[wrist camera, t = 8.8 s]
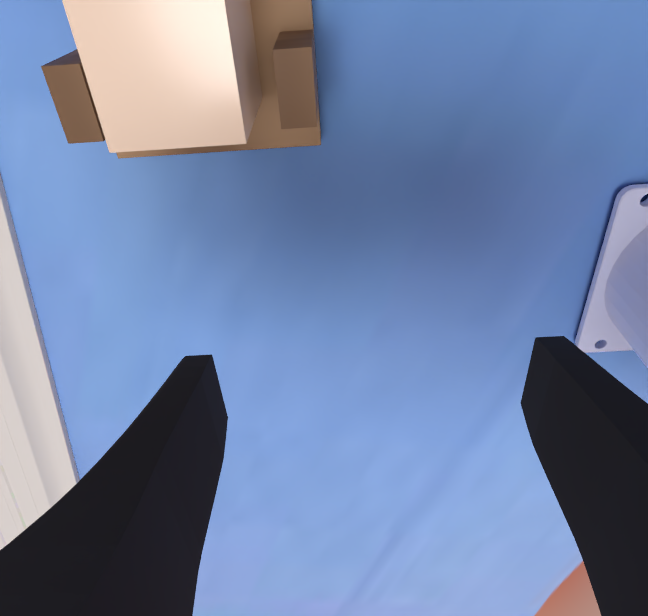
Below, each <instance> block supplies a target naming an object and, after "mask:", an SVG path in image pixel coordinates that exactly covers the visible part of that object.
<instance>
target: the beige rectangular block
mask: <svg viewBox="0 0 648 616" xmlns="http://www.w3.org/2000/svg"><path fill="white" fill-rule="evenodd" d="M62 1H63V4H64V8H65V11H66V14H67V17H68V21H69V24H70V27H71V30H72V33H73V37H74V40H75V43H76V46H77V49H78V53H79V56H80V59H81V62H82V66H83V69H84V72H85V75H86V78H87V82H88V85H89V88H90V91H91V94H92V98H93V101H94V104H95V107H96V110H97V114H98V117H99V120H100V123H101V127H102V130H103V133H104V136H105V139H106V143H107V146H108V149H109V152H110V153H116V152H131V151H146V150H161V149H176V148H191V147H206V146H221V145H236V144H246V143H247V140H248V138H249V135H250V132H251V129H252V126H253V123H254V121H255V118H256V115H257V112H258V109H259V106H260V104H261V101H262V91H261V83H260V75H259V67H258V59H257V52H256V44H255V36H254V28H253V20H252V13H251V5H250V0H62Z"/></svg>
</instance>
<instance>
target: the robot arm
mask: <svg viewBox="0 0 648 616" xmlns="http://www.w3.org/2000/svg"><path fill="white" fill-rule="evenodd" d="M646 194H648V184H637V185H630V186H627V187H625V188H623V189H622V190H621V191H620V192H619V193H618V195H617V197H616V199H615V203H614V206H613V210H612V213H611V217H610V220H609V224H608V227H607V231H606V234H605V238H604V241H603V245H602V248H601V252H600V255H599V259H598V262H597V266H596V269H595V273H594V276H593V280H592V283H591V287H590V290H589V294H588V297H587V301H586V304H585V308H584V311H583V315H582V318H581V322H580V326H579V329H578V333H577V336H576V340H575V344H576V345H574V344H573V343H572V342H571V341H569V340H568V339H567V338H565V337H564V336H555V337H537V338H535V342H534V346H533V351H532V355H531V360H530V364H529V369H528V373H527V378H526V382H525V386H524V391H523V395H522V400H521V406H522V409H523V413H524V416H525V420H526V424H527V427H528V430H529V433H530V437H531V440H532V443H533V446H534V448H535V450H536V453H537V455H538V457H539V460H540V462H541V464H542V467H543V469H544V471H545V473H546V476H547V478H548V480H549V482H550V485H551V487H552V489H553V491H554V493H555V496H556V498H557V500H558V502H559V505H560V507H561V509H562V511H563V514H564V516H565V518H566V520H567V522H568V525H569V527H570V529H571V531H572V534H573V536H574V538H575V541H576V543H577V546H578V548H579V551H580V553H581V556H582V558H583V561H584V564H585V567H586V570H587V573H588V576H589V579H590V582H591V585H592V588H593V591H594V594H595V597H596V600H597V603H598V606H599V609H600V612H601V616H648V404H647V403H646V402H645V401H643V400H642V399H641V398H640V397H638V396H637V395H636V394H634V393H633V392H632V391H631V390H629V389H628V388H627V387H626V386H624V385H623V384H622V383H621V382H619V381H618V380H617V379H616V378H614V377H613V376H612V375H611V374H610V373H608V372H607V371H606V370H605V369H603V368H602V367H601V366H600V365H599V364H597V363H596V362H595V361H594V360H593V359H591V358H590V357H589V356H588V355H587V354H585V353H590V352H609V351H628V350H634V351H635V353H636V354H637V355H638V356H639V358H640V359H641V360H642V362H643V363H644V364H645V366H646V367H647V368H648V198H647V199H646V200H645V201H643V202H640V200H641V198H642V197H643V196H644V195H646ZM599 340H602V341H600V342H599V343H596V342H598V341H599ZM584 352H585V353H584ZM227 420H228V416H227V412H226V408H225V404H224V401H223V397H222V393H221V389H220V385H219V381H218V377H217V373H216V369H215V365H214V361H213V357H212V355H197V356H185V357H184V358H183V359H182V360H181V361H180V363H179V364H178V365H177V367H176V368H175V369H174V371H173V372H172V373H171V375H170V376H169V377H168V379H167V380H166V381H165V382H164V384H163V385H162V386H161V388H160V389H159V390H158V392H157V393H156V394H155V395H154V397H153V398H152V399H151V401H150V402H149V403H148V404H147V406H146V407H145V408H144V409H143V410H142V412H141V413H140V414H139V415H138V417H137V418H136V419H135V420H134V421H133V423H132V424H131V425H130V426H129V427H128V429H127V430H126V431H125V432H124V433H123V434H122V436H121V437H120V438H119V439H118V440H117V441H116V442H115V443H114V444H113V446H112V447H111V448H110V449H109V450H108V451H107V452H106V453H105V455H104V456H103V457H102V458H101V459H100V460H99V461H98V462H97V463H96V464H95V465H94V466H93V467H92V468H91V469H90V471H89V472H88V473H87V474H86V475H85V476H84V477H83V478H82V479H81V480H80V481H79V482H78V483H77V484H76V485H75V486H74V487H72V488H71V489H70V490H69V491H68V492H67V493H66V494H65V495H64V496H63V497H62V498H61V499H60V500H59V501H58V502H57V503H56V504H54V505H53V506H52V507H51V508H50V509H49V510H48V511H47V512H45V513H44V514H43V515H42V516H41V517H39V518H38V519H37V520H36V521H35V522H34V523H32V524H31V525H30V526H29V527H28V528H26V529H25V530H24V531H23V532H22V533H21V534H19V535H18V536H17V537H16V538H15V539H13V540H12V541H11V542H10V543H9V544H7V545H6V546H5V547H4V548H2V549H1V550H0V616H192V614H193V606H194V599H195V591H196V584H197V576H198V570H199V565H200V560H201V554H202V550H203V545H204V541H205V537H206V533H207V528H208V524H209V520H210V515H211V511H212V507H213V503H214V498H215V494H216V490H217V485H218V481H219V476H220V472H221V468H222V463H223V458H224V450H225V441H226V430H227Z"/></svg>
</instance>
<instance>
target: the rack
mask: <svg viewBox="0 0 648 616" xmlns="http://www.w3.org/2000/svg"><path fill="white" fill-rule="evenodd" d="M250 5H251V13H252V20H253V28H254V36H255V44H256V52H257V59H258V67H259V75H260V83H261V91H262V101H261V104H260V106H259V109H258V112H257V115H256V118H255V121H254V123H253V126H252V129H251V132H250V135H249V138H248V140H247V143H246V144H236V145H221V146H206V147H191V148H176V149H161V150H146V151H131V152H116V153H117V156H118V158H131V157H146V156H162V155H177V154H192V153H207V152H222V151H238V150H253V149H268V148H283V147H298V146H314V145H321V131H320V116H319V101H318V86H317V71H316V57H315V42H314V27H313V12H312V0H250ZM41 67H42V70H43V73H44V76H45V79H46V82H47V84H48V87H49V90H50V93H51V96H52V98H53V101H54V104H55V107H56V110H57V113H58V115H59V118H60V121H61V124H62V127H63V130H64V132H65V135H66V138H67V141H68V144H69V143H84V142H99V141H104V140H105V136H104V133H103V130H102V127H101V123H100V120H99V117H98V114H97V110H96V107H95V104H94V101H93V98H92V94H91V91H90V88H89V85H88V82H87V78H86V75H85V72H84V69H83V66H82V62H81V59H80V56H79V53H78V49H77V50H75V51H73V52H71V53H69V54H66V55H64V56H62V57H60V58H58V59H56V60H54V61H52V62H49V63H47V64H45V65H43V66H41Z"/></svg>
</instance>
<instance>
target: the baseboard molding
mask: <svg viewBox="0 0 648 616" xmlns="http://www.w3.org/2000/svg"><path fill="white" fill-rule="evenodd" d="M79 481H80V479H79V476H78V472H77V468H76V464H75V460H74V456H73V452H72V449H71V445H70V441H69V437H68V433H67V429H66V425H65V421H64V418H63V414H62V410H61V406H60V402H59V398H58V394H57V391H56V387H55V383H54V379H53V375H52V371H51V367H50V363H49V360H48V356H47V352H46V348H45V344H44V340H43V336H42V333H41V329H40V325H39V321H38V317H37V313H36V309H35V305H34V302H33V298H32V294H31V290H30V286H29V282H28V278H27V275H26V271H25V267H24V263H23V259H22V255H21V251H20V247H19V244H18V240H17V236H16V232H15V228H14V224H13V220H12V217H11V213H10V209H9V205H8V201H7V197H6V193H5V189H4V186H3V182H2V178H1V174H0V550H1V549H2V548H4V547H5V546H6V545H7V544H9V543H10V542H11V541H12V540H13V539H15V538H16V537H17V536H18V535H19V534H21V533H22V532H23V531H24V530H25V529H26V528H28V527H29V526H30V525H31V524H32V523H34V522H35V521H36V520H37V519H38V518H39V517H41V516H42V515H43V514H44V513H45V512H47V511H48V510H49V509H50V508H51V507H52V506H53V505H54V504H56V503H57V502H58V501H59V500H60V499H61V498H62V497H63V496H64V495H65V494H66V493H67V492H68V491H69V490H70V489H71V488H72V487H74V486H75V485H76V484H77V483H78V482H79Z"/></svg>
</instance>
